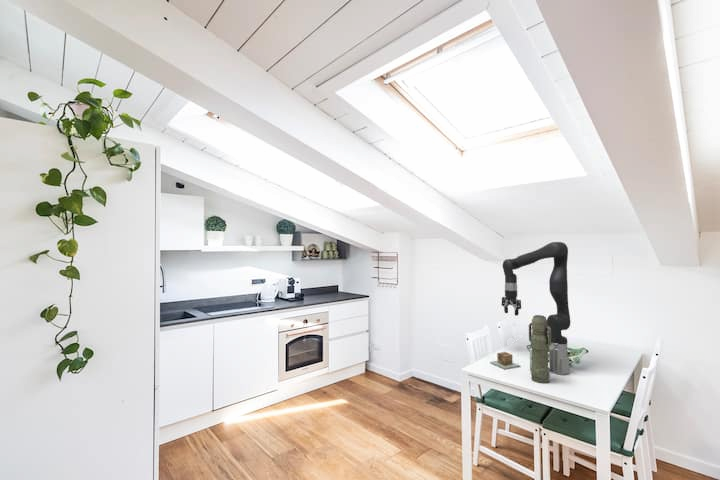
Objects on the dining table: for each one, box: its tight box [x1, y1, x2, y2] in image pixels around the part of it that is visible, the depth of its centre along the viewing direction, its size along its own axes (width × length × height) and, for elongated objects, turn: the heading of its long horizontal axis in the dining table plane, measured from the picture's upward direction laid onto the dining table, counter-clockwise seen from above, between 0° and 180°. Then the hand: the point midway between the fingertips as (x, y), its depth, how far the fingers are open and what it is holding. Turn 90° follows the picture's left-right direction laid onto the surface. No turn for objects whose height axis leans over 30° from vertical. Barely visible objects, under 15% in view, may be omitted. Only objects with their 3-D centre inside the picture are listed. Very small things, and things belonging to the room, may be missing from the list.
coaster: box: [489, 360, 521, 371], centre depth 211 cm, size 12×12×1 cm
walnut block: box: [496, 351, 513, 366], centre depth 211 cm, size 6×6×6 cm
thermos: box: [528, 314, 551, 384], centre depth 188 cm, size 9×12×35 cm
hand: (511, 314), depth 226 cm, fingers open, 8 cm apart
